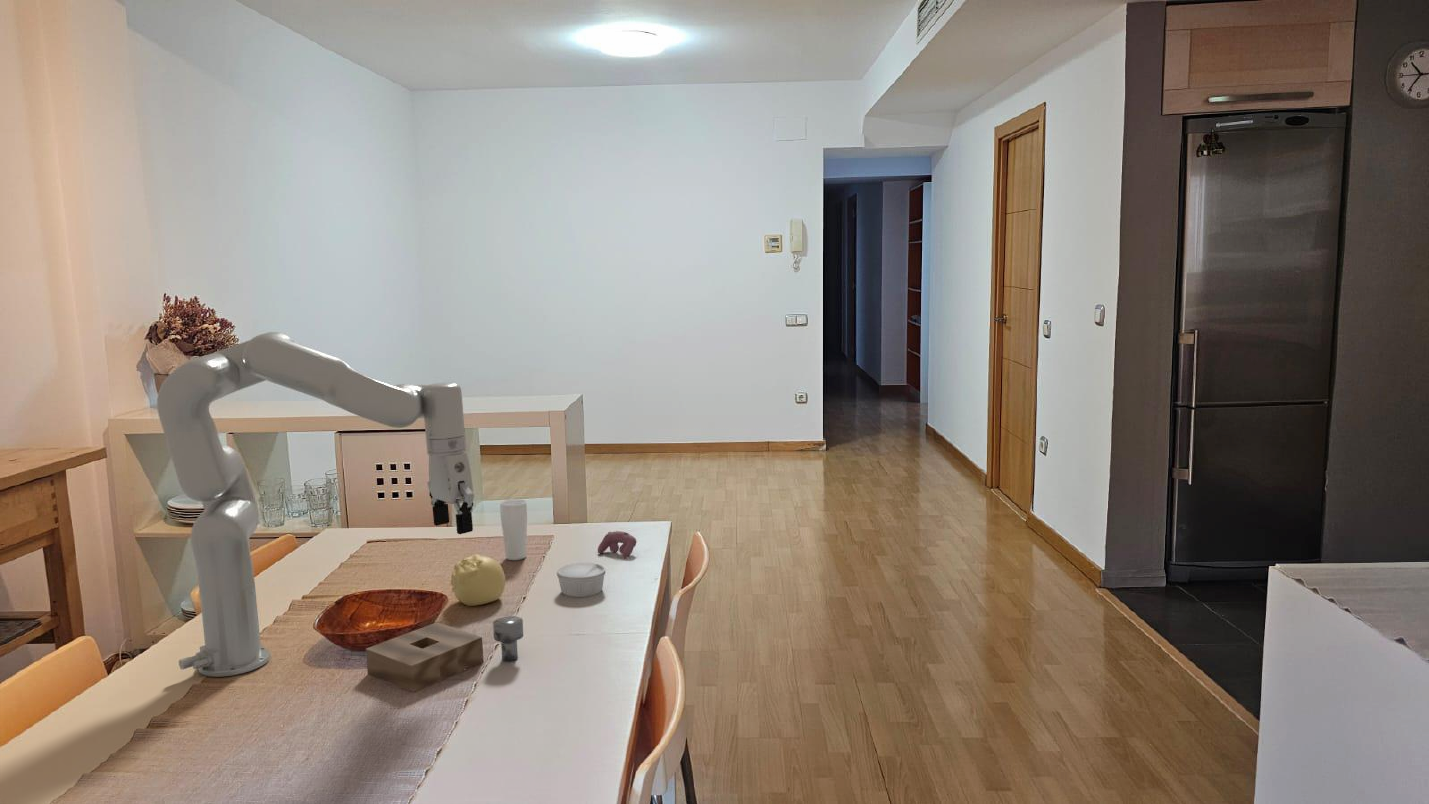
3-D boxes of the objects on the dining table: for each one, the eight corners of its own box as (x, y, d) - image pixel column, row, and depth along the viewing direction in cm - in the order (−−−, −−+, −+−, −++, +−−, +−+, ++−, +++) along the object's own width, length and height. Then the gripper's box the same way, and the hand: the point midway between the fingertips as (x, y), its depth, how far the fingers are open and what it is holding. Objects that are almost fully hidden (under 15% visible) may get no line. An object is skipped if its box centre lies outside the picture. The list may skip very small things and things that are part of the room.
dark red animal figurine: (634, 561, 249) (640, 535, 251) (624, 558, 245) (631, 531, 247) (604, 556, 254) (611, 530, 256) (594, 552, 251) (601, 526, 252)
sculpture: (449, 597, 220) (447, 552, 219) (502, 589, 224) (499, 545, 223) (454, 613, 210) (451, 566, 208) (509, 605, 214) (507, 559, 212)
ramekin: (611, 595, 219) (610, 573, 219) (563, 602, 215) (562, 580, 214) (599, 580, 230) (598, 559, 229) (553, 587, 226) (552, 566, 225)
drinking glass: (501, 555, 251) (498, 500, 249) (527, 553, 253) (524, 498, 251) (504, 563, 245) (501, 506, 243) (530, 560, 247) (527, 504, 245)
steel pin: (508, 666, 180) (506, 629, 179) (489, 660, 184) (486, 623, 183) (530, 656, 185) (528, 620, 184) (511, 650, 188) (509, 614, 187)
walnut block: (413, 692, 170) (411, 666, 170) (367, 674, 179) (365, 648, 178) (483, 662, 183) (482, 637, 182) (438, 646, 191) (436, 622, 191)
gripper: (485, 447, 185) (491, 531, 188) (443, 437, 198) (449, 517, 200) (449, 453, 180) (457, 540, 183) (409, 443, 193) (416, 525, 195)
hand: (453, 528), depth 191 cm, fingers open, 9 cm apart
